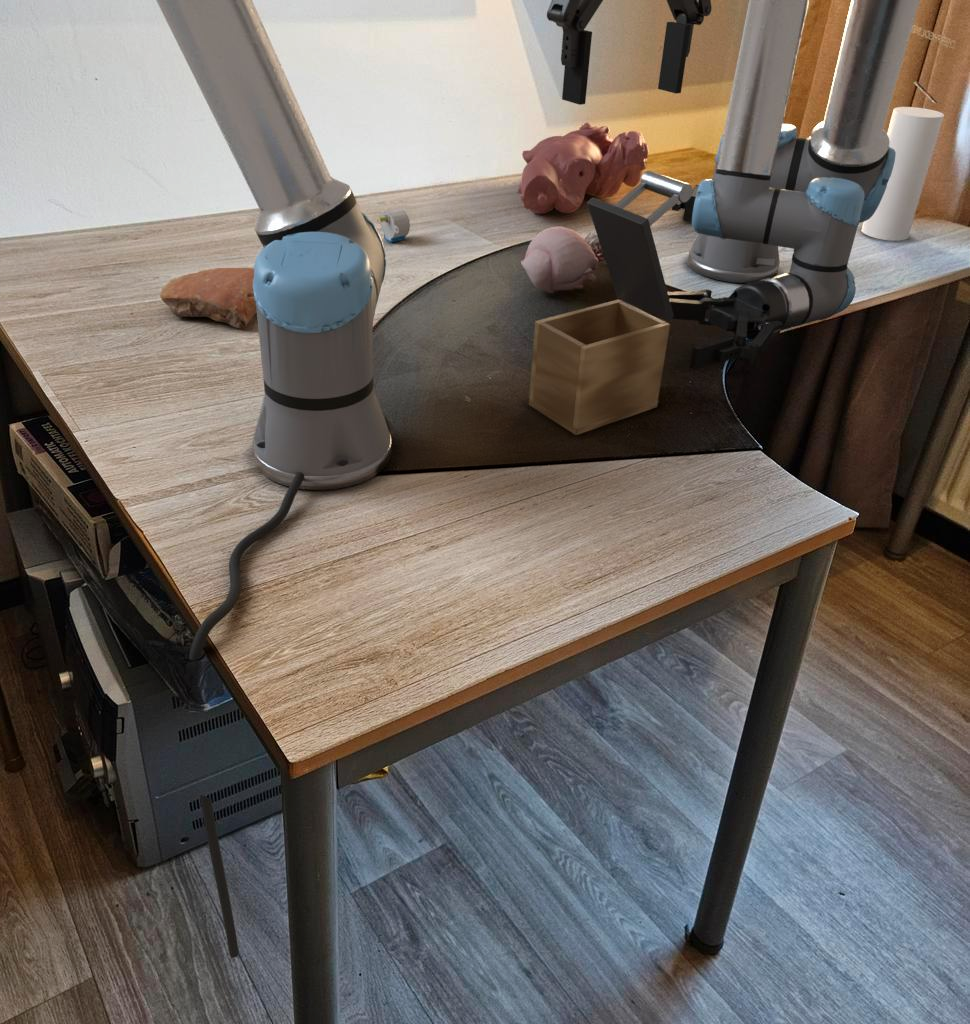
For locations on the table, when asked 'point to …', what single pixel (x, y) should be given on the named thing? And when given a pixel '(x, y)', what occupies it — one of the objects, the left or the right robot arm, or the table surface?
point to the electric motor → (394, 225)
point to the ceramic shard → (213, 295)
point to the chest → (597, 365)
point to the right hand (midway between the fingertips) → (654, 338)
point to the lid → (637, 244)
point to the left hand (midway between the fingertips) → (623, 96)
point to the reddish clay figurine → (580, 168)
